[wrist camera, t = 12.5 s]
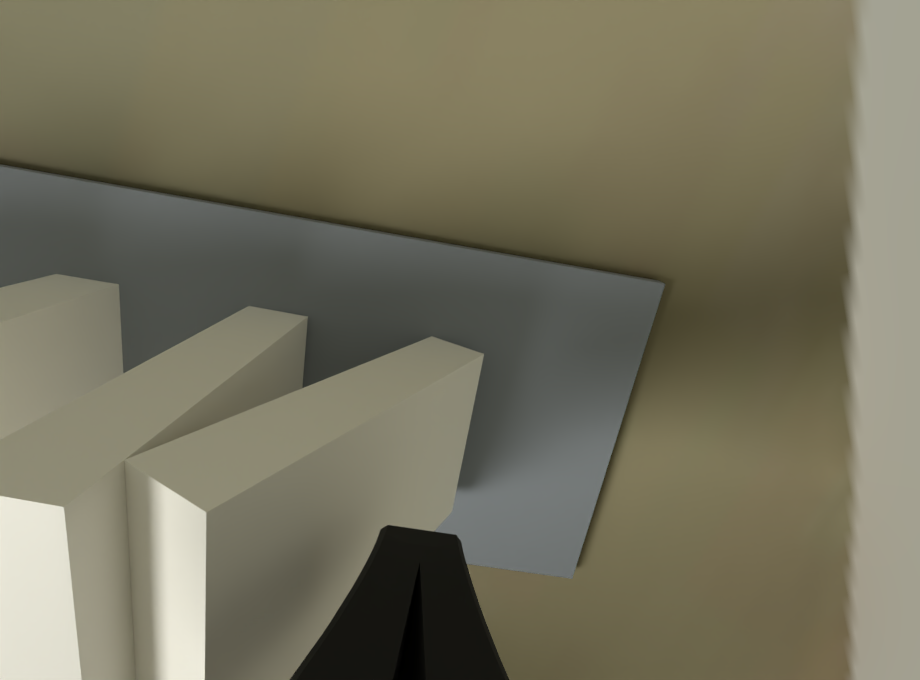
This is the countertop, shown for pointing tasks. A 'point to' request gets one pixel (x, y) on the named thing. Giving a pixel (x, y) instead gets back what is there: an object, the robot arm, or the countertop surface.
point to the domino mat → (375, 331)
